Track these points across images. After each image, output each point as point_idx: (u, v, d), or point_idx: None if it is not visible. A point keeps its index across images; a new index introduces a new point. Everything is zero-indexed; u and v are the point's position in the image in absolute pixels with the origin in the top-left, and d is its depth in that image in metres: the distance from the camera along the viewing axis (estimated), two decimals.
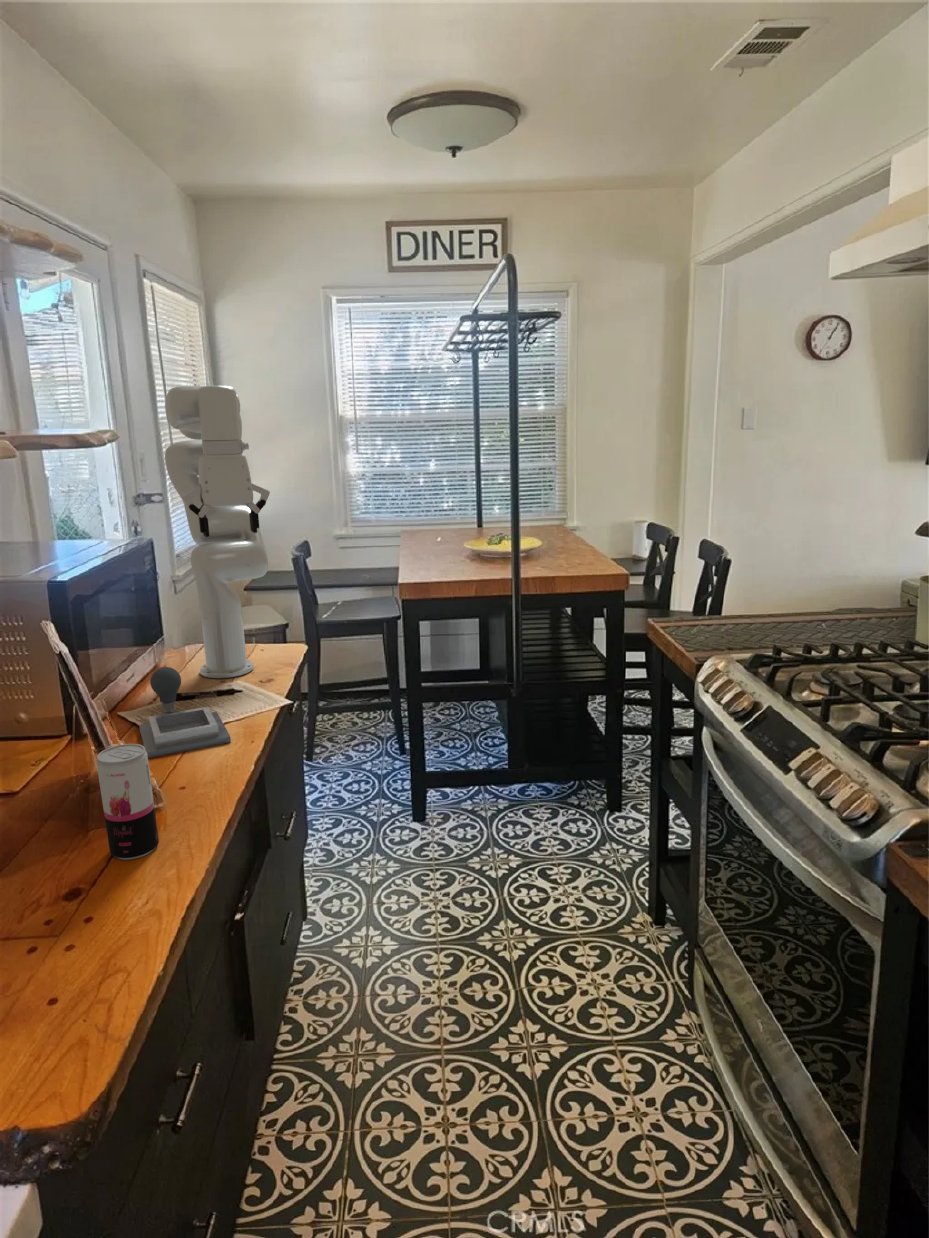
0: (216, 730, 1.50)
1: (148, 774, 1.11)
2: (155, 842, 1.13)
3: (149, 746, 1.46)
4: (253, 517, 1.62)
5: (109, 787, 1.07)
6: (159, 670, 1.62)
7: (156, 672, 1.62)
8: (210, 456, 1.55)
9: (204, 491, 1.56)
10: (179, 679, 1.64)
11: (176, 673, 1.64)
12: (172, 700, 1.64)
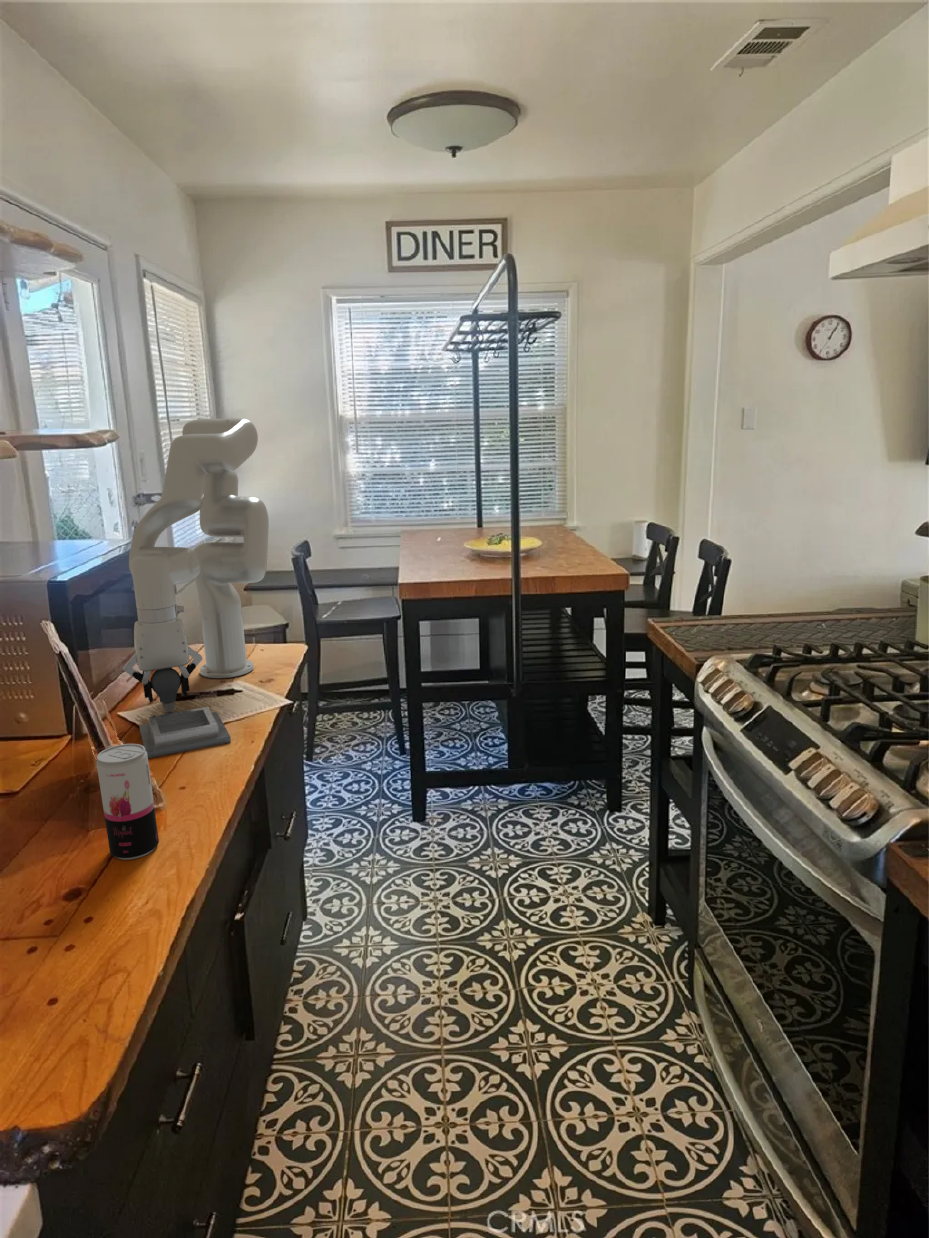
0: (216, 730, 1.50)
1: (148, 774, 1.11)
2: (155, 842, 1.13)
3: (149, 746, 1.46)
4: (183, 682, 1.64)
5: (109, 787, 1.07)
6: (159, 670, 1.62)
7: (156, 672, 1.62)
8: (144, 624, 1.57)
9: (139, 657, 1.59)
10: (179, 679, 1.64)
11: (176, 673, 1.64)
12: (172, 700, 1.64)
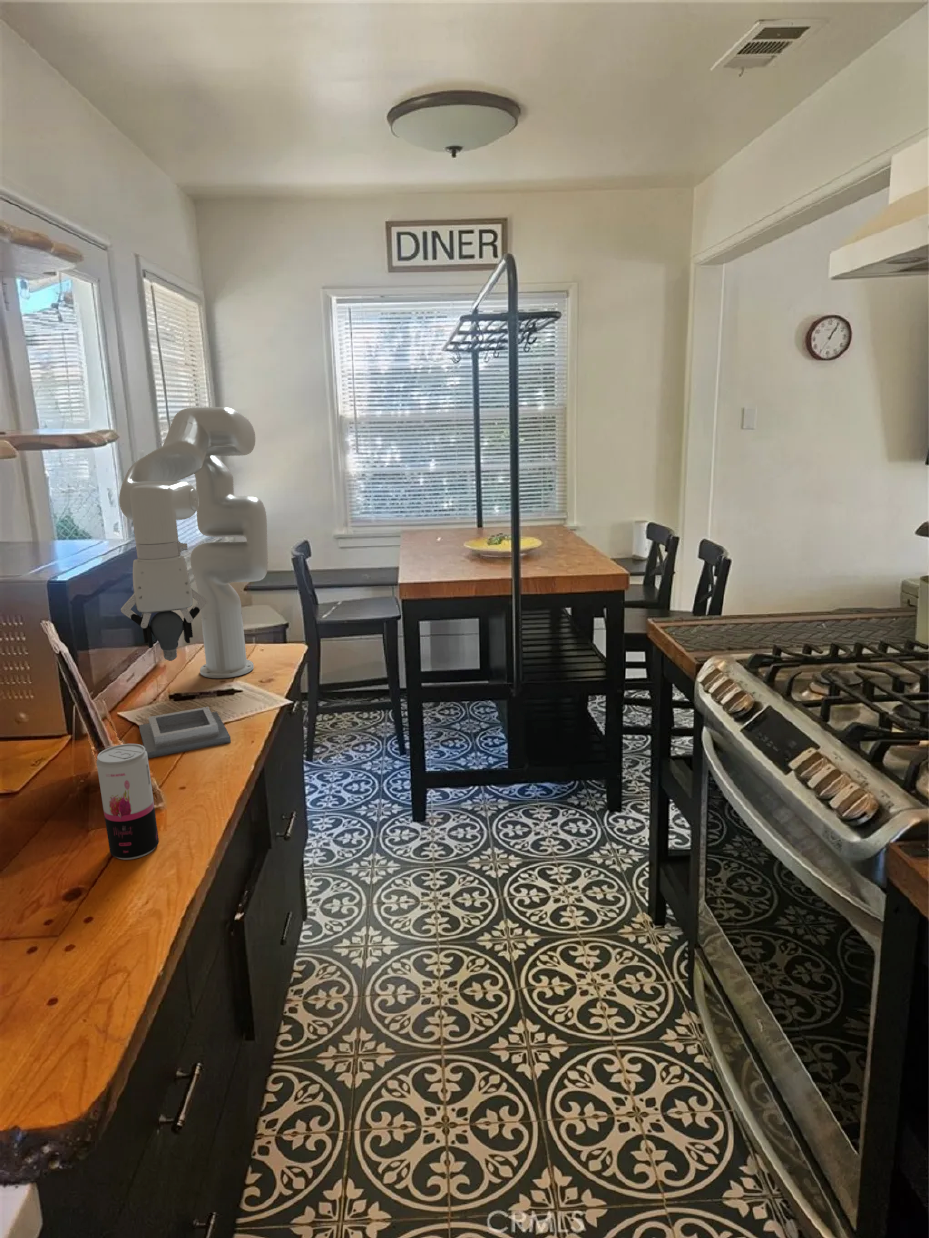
0: (216, 730, 1.50)
1: (148, 774, 1.11)
2: (155, 842, 1.13)
3: (149, 746, 1.46)
4: (185, 627, 1.51)
5: (109, 787, 1.07)
6: (160, 613, 1.49)
7: (156, 615, 1.49)
8: (143, 560, 1.44)
9: (137, 597, 1.45)
10: (181, 623, 1.50)
11: (178, 617, 1.50)
12: (174, 646, 1.51)
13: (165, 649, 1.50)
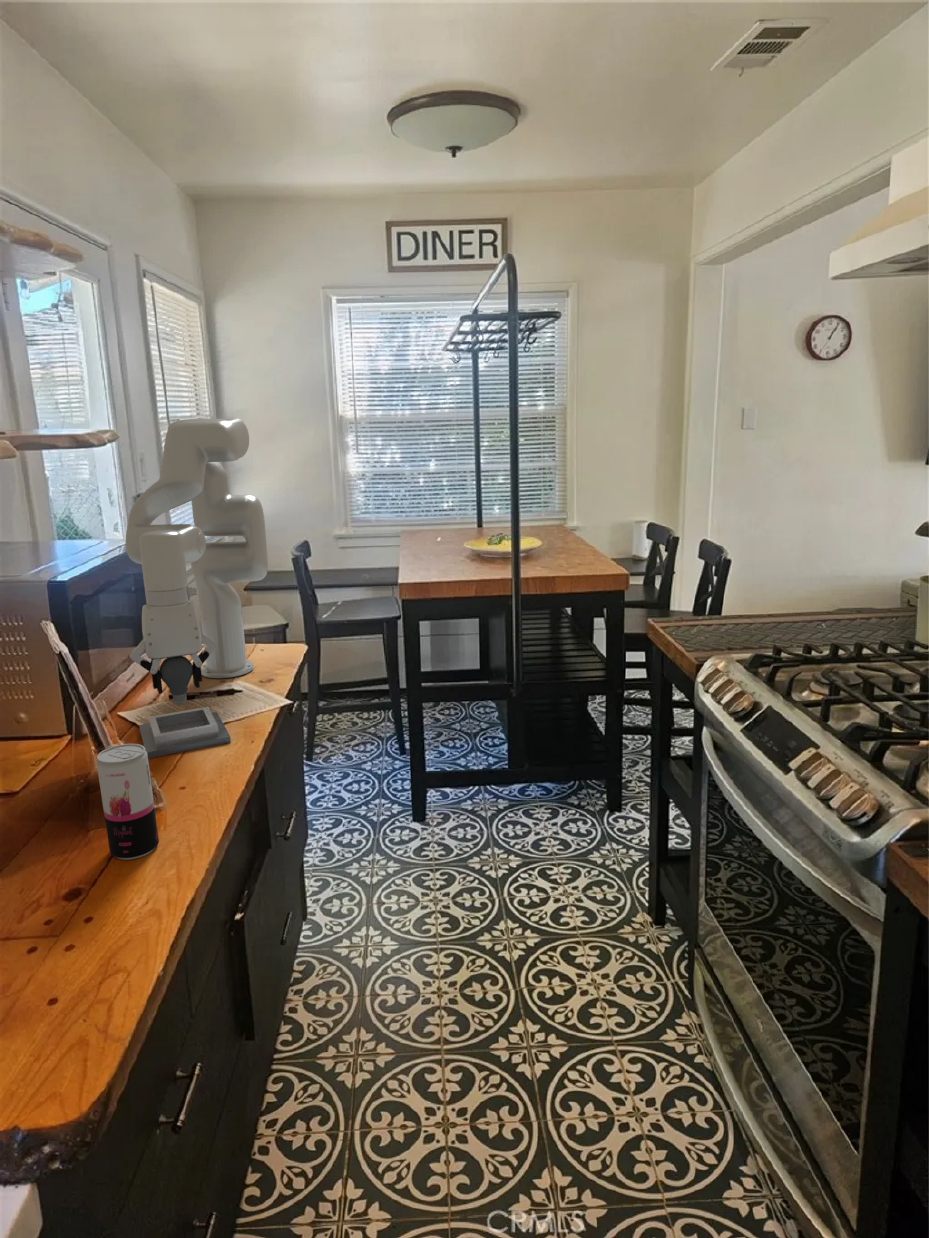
0: (216, 730, 1.50)
1: (148, 774, 1.11)
2: (155, 842, 1.13)
3: (149, 746, 1.46)
4: (195, 672, 1.50)
5: (109, 787, 1.07)
6: (169, 658, 1.48)
7: (166, 660, 1.48)
8: (153, 607, 1.43)
9: (147, 644, 1.44)
10: (191, 668, 1.49)
11: (188, 662, 1.49)
12: (183, 691, 1.50)
13: (175, 694, 1.49)
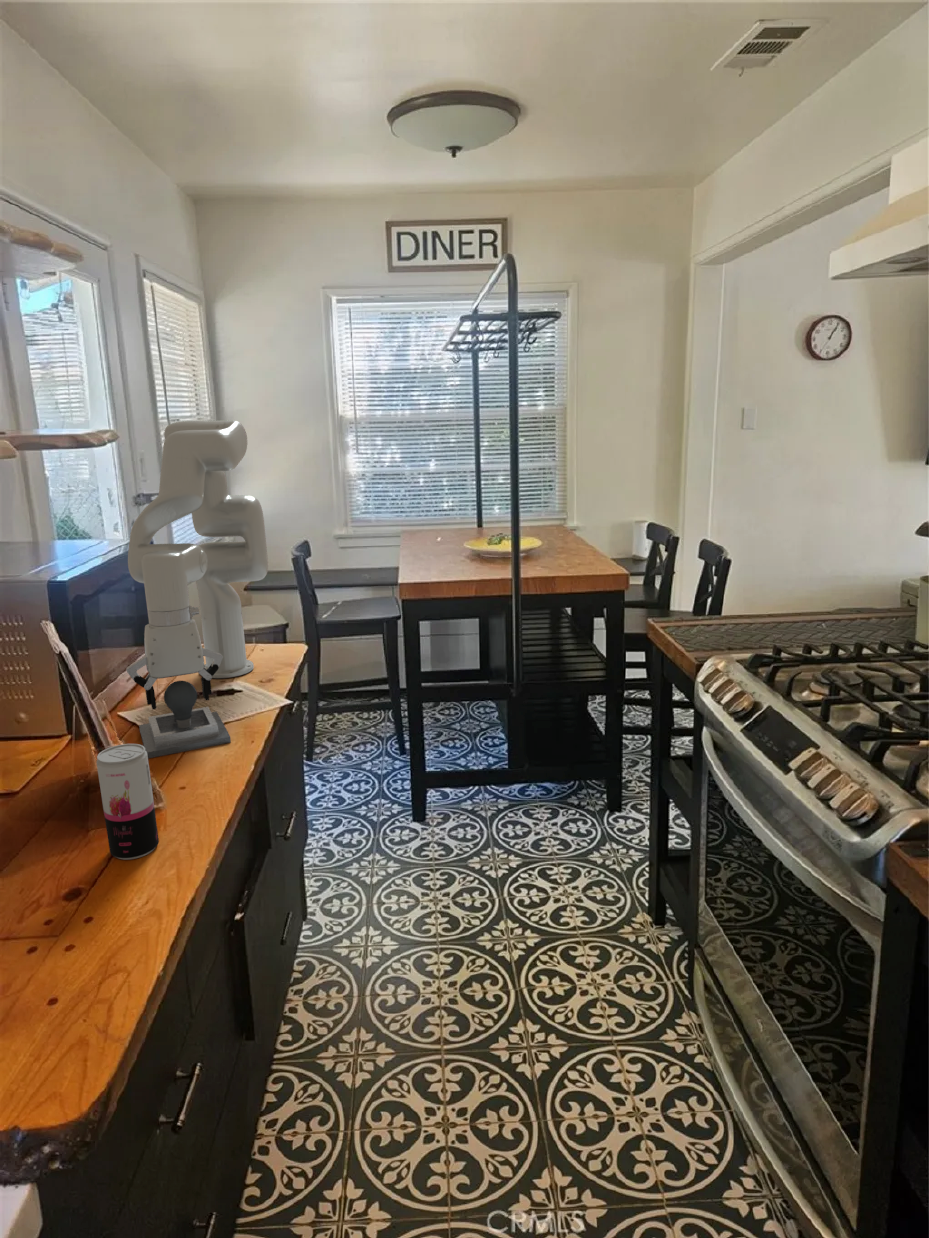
0: (216, 730, 1.50)
1: (148, 774, 1.11)
2: (155, 842, 1.13)
3: (149, 746, 1.46)
4: (204, 684, 1.51)
5: (109, 787, 1.07)
6: (173, 684, 1.50)
7: (170, 686, 1.50)
8: (156, 627, 1.44)
9: (150, 663, 1.45)
10: (195, 694, 1.51)
11: (192, 687, 1.51)
12: (187, 716, 1.51)
13: (179, 719, 1.51)
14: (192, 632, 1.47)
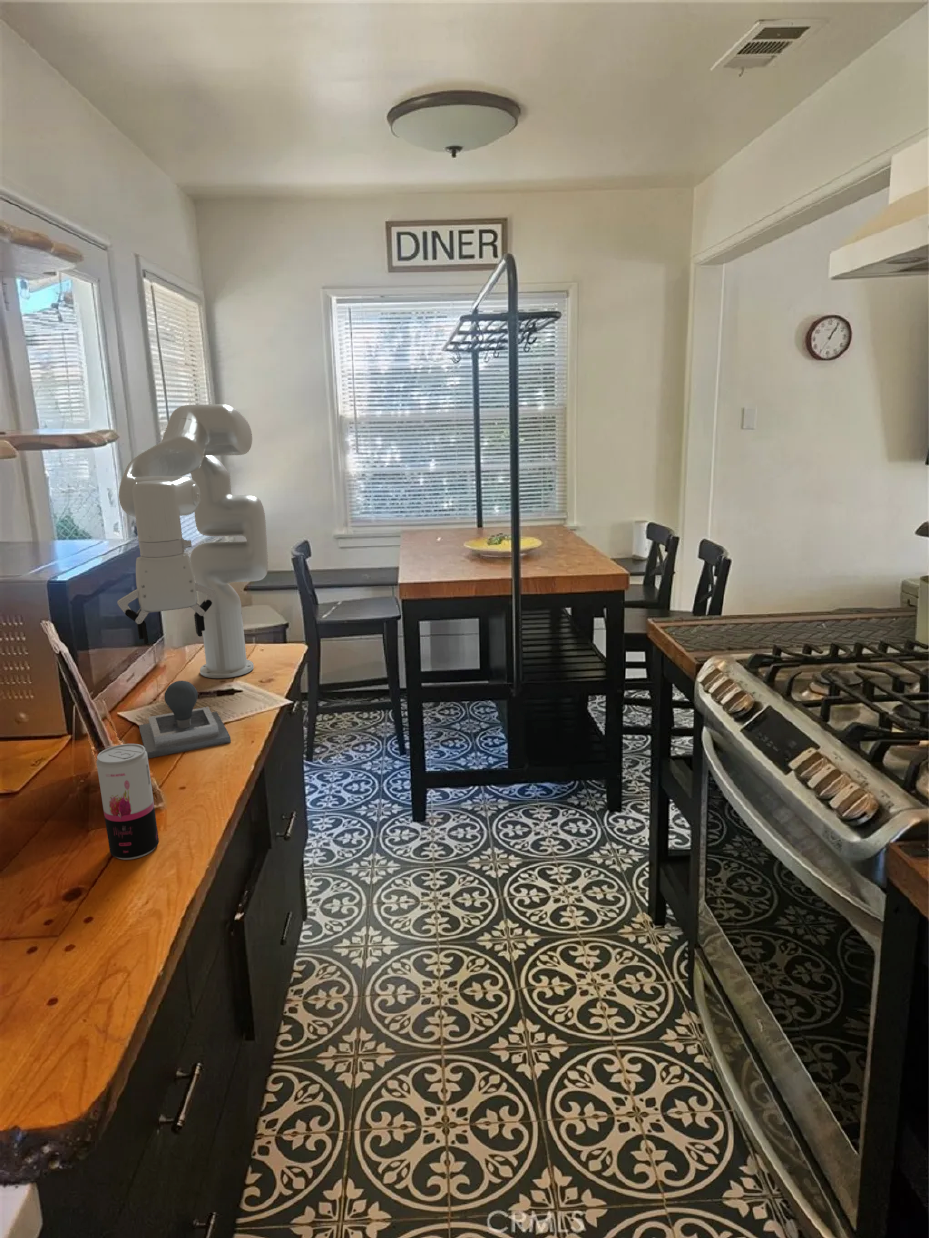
0: (216, 730, 1.50)
1: (148, 774, 1.11)
2: (155, 842, 1.13)
3: (149, 746, 1.46)
4: (197, 620, 1.48)
5: (109, 787, 1.07)
6: (174, 684, 1.50)
7: (171, 686, 1.50)
8: (147, 558, 1.41)
9: (141, 596, 1.42)
10: (195, 694, 1.51)
11: (192, 687, 1.51)
12: (188, 717, 1.51)
13: (179, 719, 1.51)
14: (184, 565, 1.44)
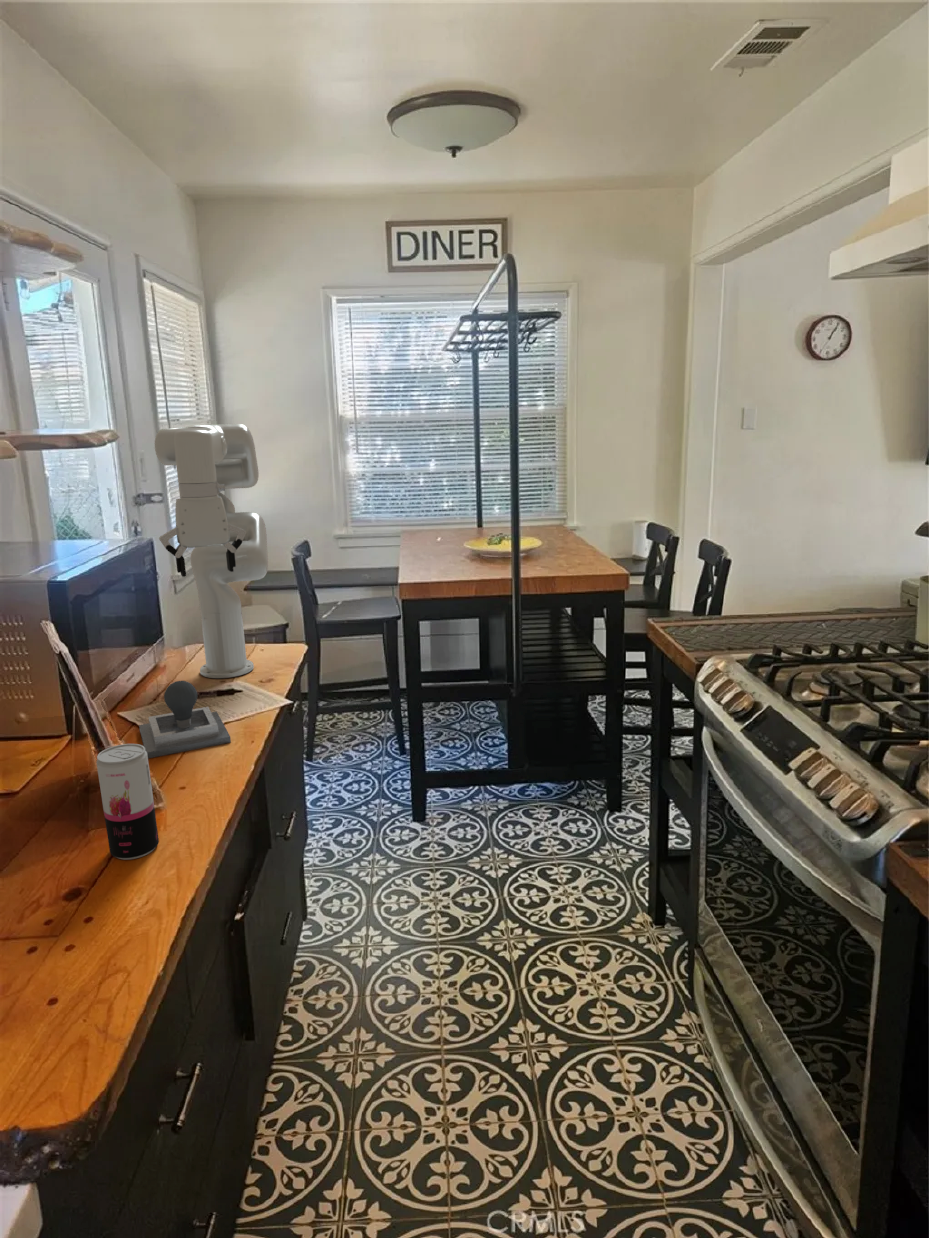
0: (216, 730, 1.50)
1: (148, 774, 1.11)
2: (155, 842, 1.13)
3: (149, 746, 1.46)
4: (229, 556, 1.66)
5: (109, 787, 1.07)
6: (174, 684, 1.50)
7: (170, 686, 1.50)
8: (186, 499, 1.59)
9: (180, 532, 1.60)
10: (195, 694, 1.51)
11: (192, 687, 1.51)
12: (188, 717, 1.51)
13: (179, 719, 1.51)
14: (219, 506, 1.62)
